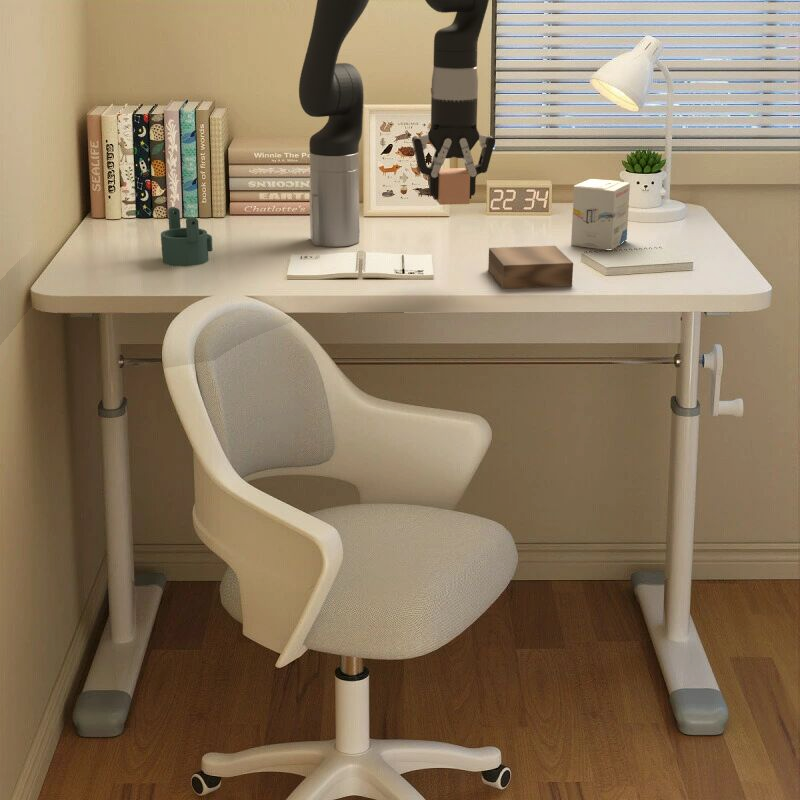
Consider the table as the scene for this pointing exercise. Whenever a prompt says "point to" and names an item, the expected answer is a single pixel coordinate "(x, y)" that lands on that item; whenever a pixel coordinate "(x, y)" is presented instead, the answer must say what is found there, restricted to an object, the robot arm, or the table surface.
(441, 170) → the terracotta cube
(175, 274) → the table surface
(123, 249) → the table surface
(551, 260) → the walnut base
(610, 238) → the ink box
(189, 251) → the bracket
